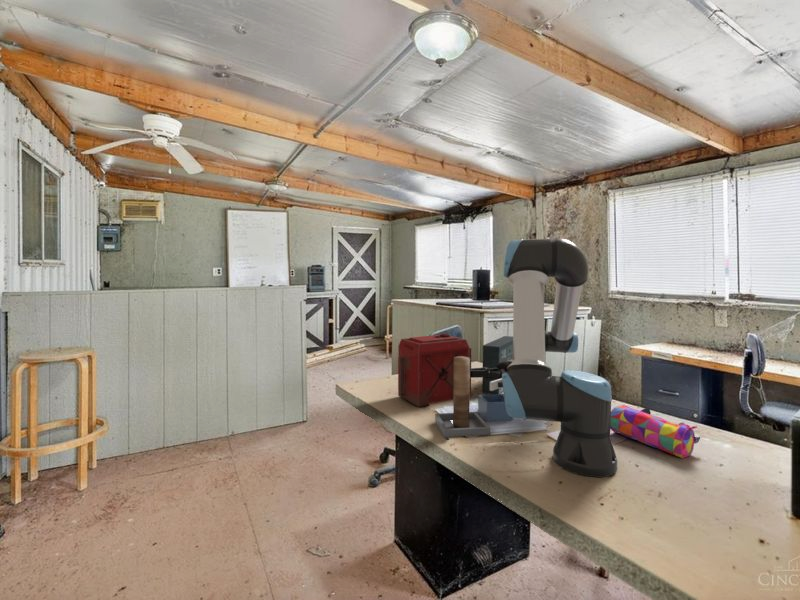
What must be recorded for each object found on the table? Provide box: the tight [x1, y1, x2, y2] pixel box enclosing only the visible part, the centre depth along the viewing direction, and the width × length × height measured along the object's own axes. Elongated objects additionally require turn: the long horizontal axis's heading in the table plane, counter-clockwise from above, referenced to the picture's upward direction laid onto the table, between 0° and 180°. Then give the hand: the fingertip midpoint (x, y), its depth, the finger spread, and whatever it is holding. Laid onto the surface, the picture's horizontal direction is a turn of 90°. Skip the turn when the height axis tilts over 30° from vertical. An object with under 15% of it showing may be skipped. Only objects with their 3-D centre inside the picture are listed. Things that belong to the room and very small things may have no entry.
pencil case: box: [610, 404, 701, 459], centre depth 113 cm, size 22×9×9 cm, turn 31°
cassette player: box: [481, 335, 513, 395], centre depth 173 cm, size 29×7×20 cm, turn 147°
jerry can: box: [397, 333, 472, 408], centre depth 155 cm, size 30×16×25 cm, turn 118°
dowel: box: [452, 356, 471, 428], centre depth 123 cm, size 5×5×22 cm
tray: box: [434, 411, 491, 441], centre depth 124 cm, size 14×14×3 cm
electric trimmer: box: [640, 407, 652, 415], centre depth 131 cm, size 4×16×3 cm, turn 129°
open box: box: [477, 393, 514, 422], centre depth 133 cm, size 9×9×7 cm
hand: (473, 382), depth 127 cm, fingers open, 13 cm apart
